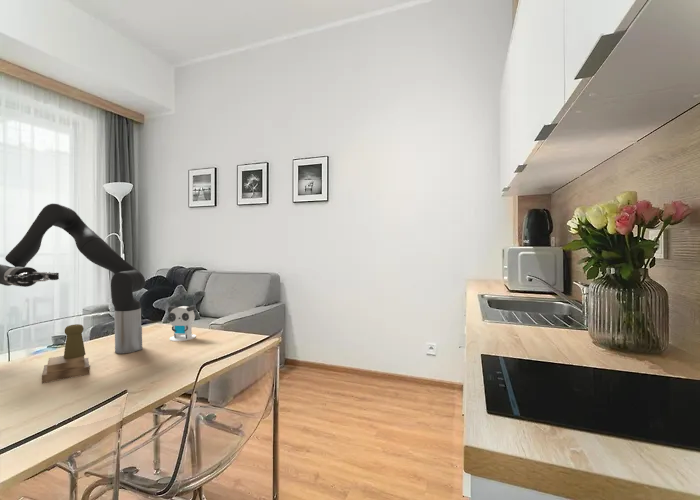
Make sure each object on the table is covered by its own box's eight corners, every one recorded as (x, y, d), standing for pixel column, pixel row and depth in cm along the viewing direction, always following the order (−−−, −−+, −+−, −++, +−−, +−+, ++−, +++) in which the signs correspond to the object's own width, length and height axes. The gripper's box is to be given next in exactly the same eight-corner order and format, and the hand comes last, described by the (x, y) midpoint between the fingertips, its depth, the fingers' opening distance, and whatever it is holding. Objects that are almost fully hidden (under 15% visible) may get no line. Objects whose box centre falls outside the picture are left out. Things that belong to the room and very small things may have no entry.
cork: (72, 359, 115) (72, 327, 115) (58, 358, 116) (58, 326, 116) (89, 353, 121) (89, 323, 121) (76, 352, 122) (76, 322, 122)
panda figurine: (162, 340, 154) (161, 308, 154) (178, 334, 165) (178, 303, 165) (186, 341, 152) (185, 308, 152) (200, 335, 164) (200, 304, 163)
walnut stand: (88, 364, 124) (88, 350, 124) (89, 374, 115) (89, 359, 115) (44, 372, 116) (44, 357, 116) (41, 383, 107) (41, 367, 107)
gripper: (-5, 268, 124) (16, 269, 117) (44, 265, 137) (65, 266, 130) (-4, 288, 124) (16, 290, 117) (44, 284, 137) (65, 286, 130)
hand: (42, 278), depth 123 cm, fingers open, 8 cm apart
